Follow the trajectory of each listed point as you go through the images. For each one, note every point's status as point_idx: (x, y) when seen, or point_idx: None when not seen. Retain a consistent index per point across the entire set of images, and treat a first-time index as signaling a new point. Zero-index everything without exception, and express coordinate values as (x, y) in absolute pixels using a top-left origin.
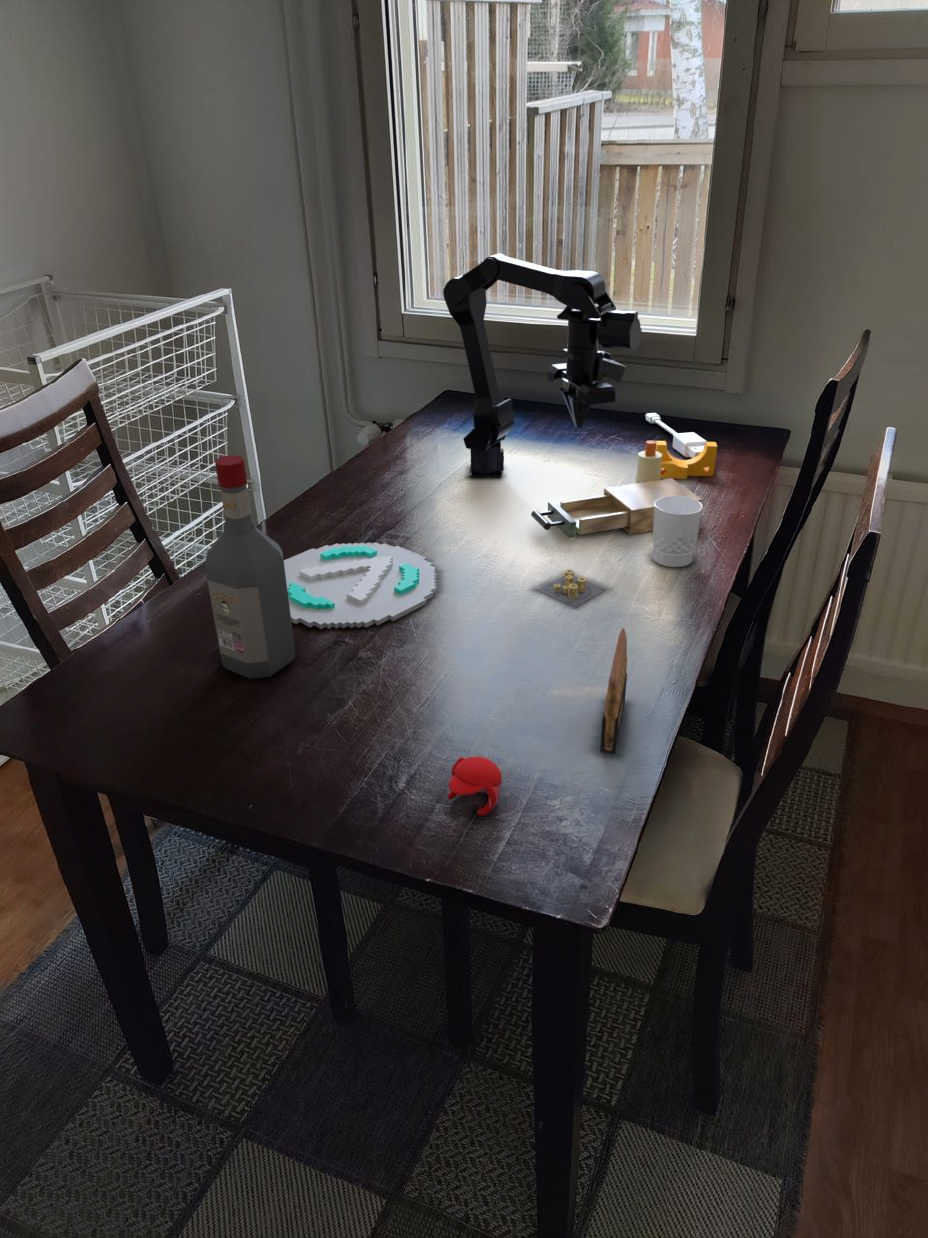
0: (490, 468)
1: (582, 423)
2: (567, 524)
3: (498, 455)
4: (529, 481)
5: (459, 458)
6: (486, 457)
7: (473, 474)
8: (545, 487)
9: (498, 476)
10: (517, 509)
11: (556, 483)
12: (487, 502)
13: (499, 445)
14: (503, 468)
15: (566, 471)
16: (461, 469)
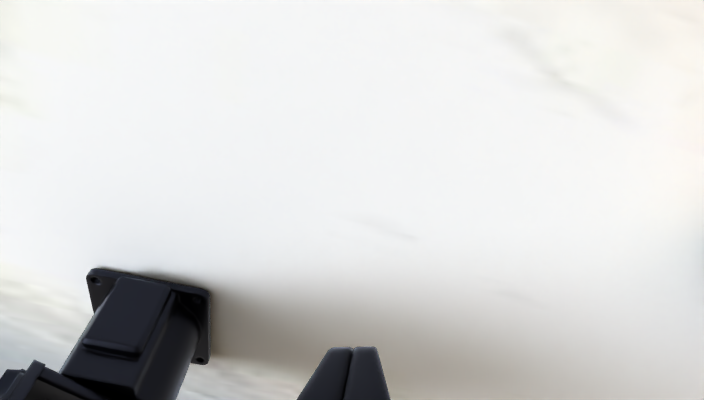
0: (189, 339)
1: (385, 386)
2: None
3: (152, 357)
4: (252, 213)
5: (29, 345)
6: (177, 389)
7: (198, 356)
8: (330, 175)
9: (209, 299)
10: (529, 310)
11: (287, 118)
12: (432, 362)
13: (118, 387)
14: (163, 292)
15: (116, 25)
16: None
